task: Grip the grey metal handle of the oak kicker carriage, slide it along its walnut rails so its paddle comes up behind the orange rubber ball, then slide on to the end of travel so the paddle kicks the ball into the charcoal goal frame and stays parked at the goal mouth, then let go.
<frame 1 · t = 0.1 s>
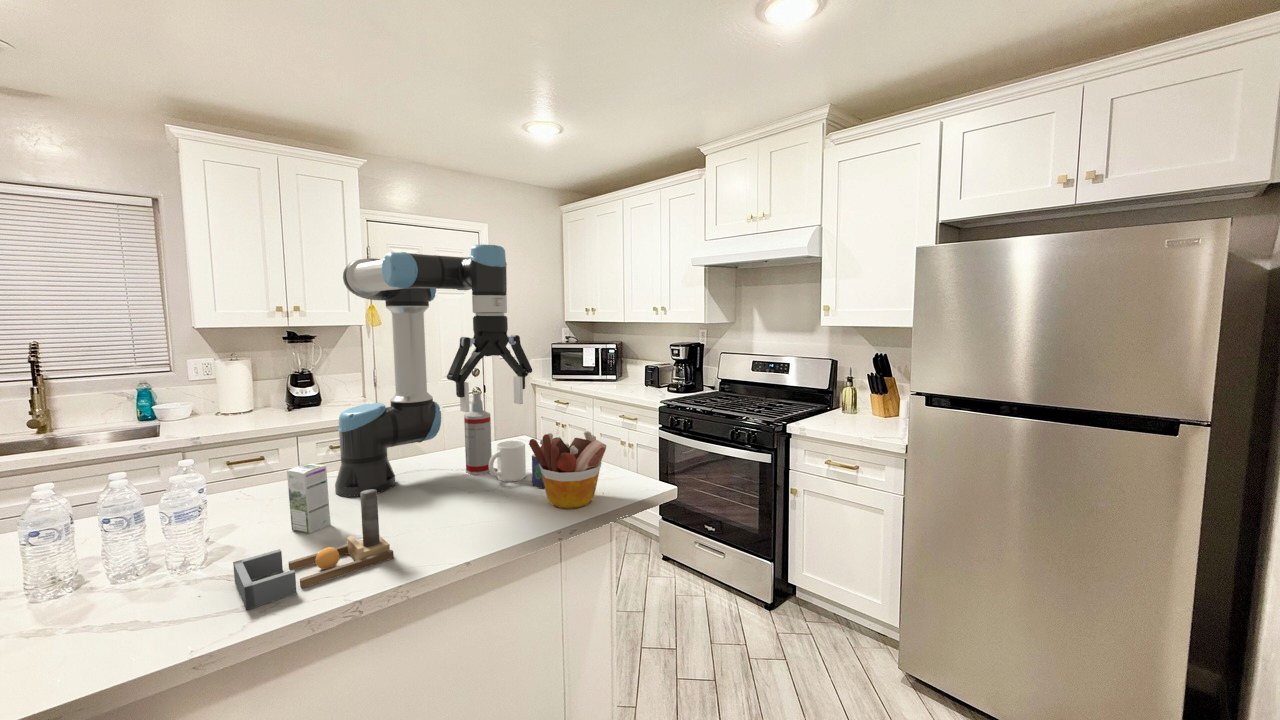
hand: (492, 407, 117), 28 cm above the counter, fingers open, 13 cm apart
rails: (342, 563, 102), on the counter
spray bottle: (479, 471, 160), on the counter
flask: (544, 487, 145), on the counter
mug: (506, 479, 152), on the counter
goal: (269, 586, 93), on the counter
syrup box: (311, 528, 118), on the counter
carriage: (367, 523, 104), point 7 cm above the counter, slide at 0.0 cm
bucket of meat: (569, 502, 134), on the counter
ball: (327, 558, 100), point 2 cm above the counter
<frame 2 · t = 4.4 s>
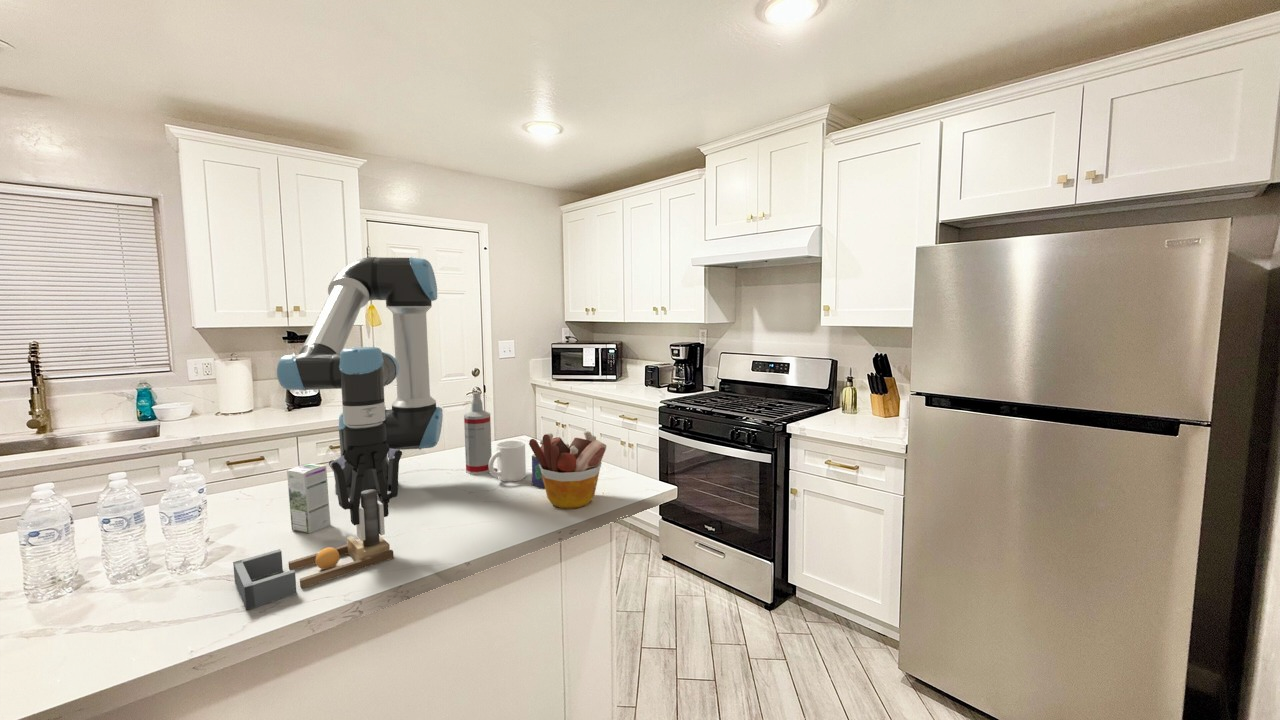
hand: (371, 535, 105), 4 cm above the counter, fingers closed on carriage, 3 cm apart
carriage: (367, 523, 104), point 7 cm above the counter, slide at 0.0 cm, touching gripper
everything else where it was.
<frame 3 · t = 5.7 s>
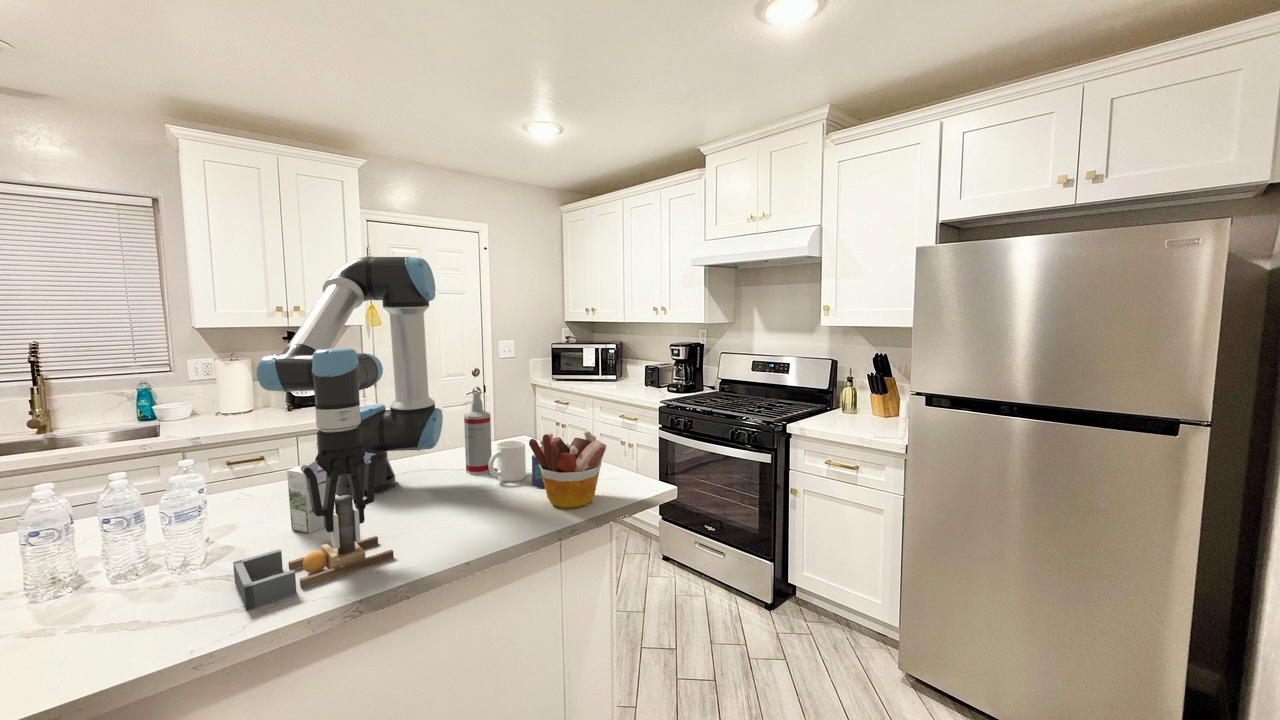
hand: (346, 542, 102), 4 cm above the counter, fingers closed on carriage, 3 cm apart
carriage: (342, 530, 101), point 7 cm above the counter, slide at 4.6 cm, touching gripper
ball: (315, 562, 98), point 2 cm above the counter, tilted 60°
everything else where it was.
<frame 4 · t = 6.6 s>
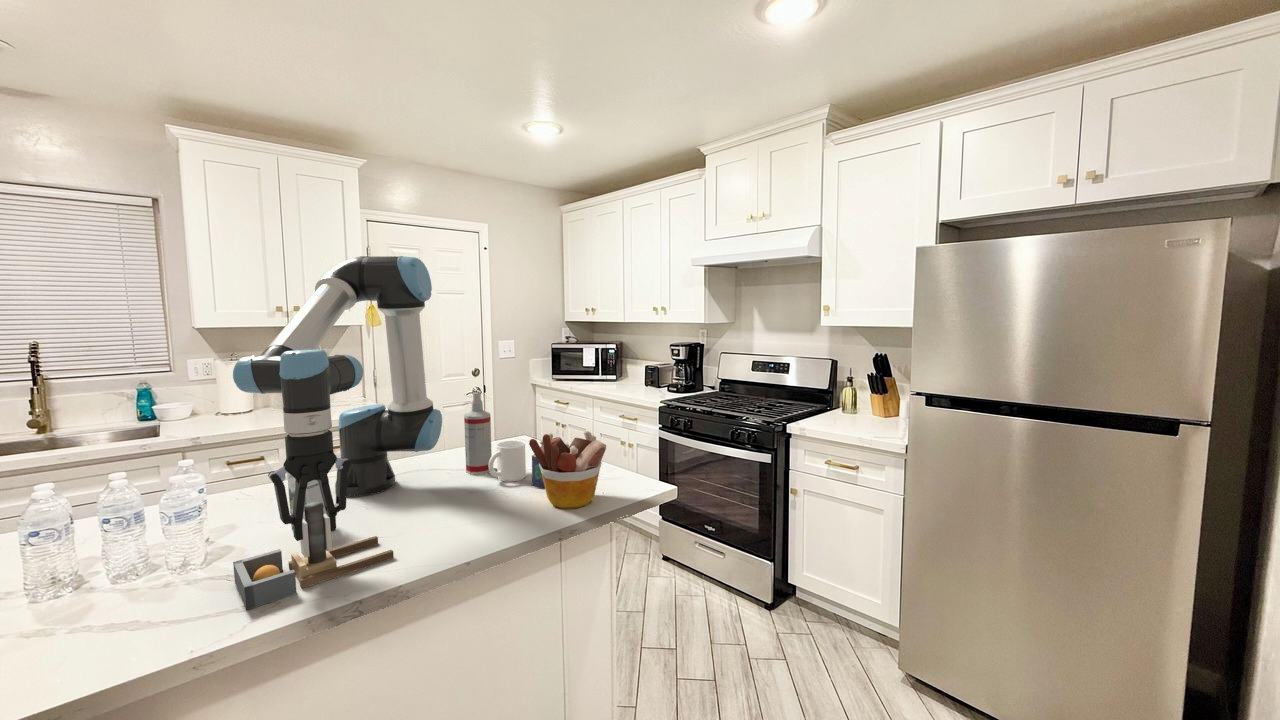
hand: (316, 551, 98), 4 cm above the counter, fingers closed on carriage, 3 cm apart
carriage: (312, 538, 98), point 7 cm above the counter, slide at 9.7 cm, touching gripper
ball: (266, 576, 93), point 2 cm above the counter, tilted 83°
everything else where it was.
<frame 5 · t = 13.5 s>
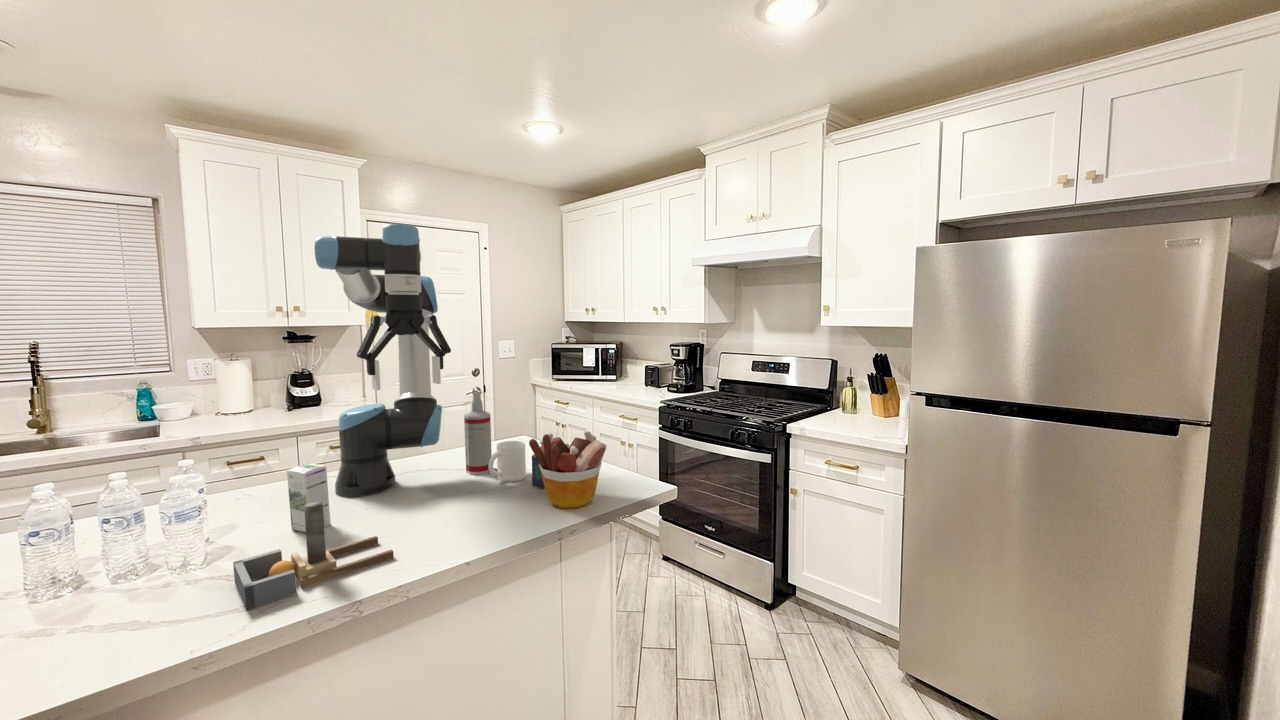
hand: (407, 386, 118), 33 cm above the counter, fingers open, 13 cm apart
carriage: (312, 538, 98), point 7 cm above the counter, slide at 9.8 cm
ball: (282, 572, 94), point 2 cm above the counter, tilted 150°
everything else where it was.
at the end: ball inside the target area on the goal (2.1 cm from its centre), point 2.0 cm above the goal's base; carriage slide at 9.8 cm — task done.
